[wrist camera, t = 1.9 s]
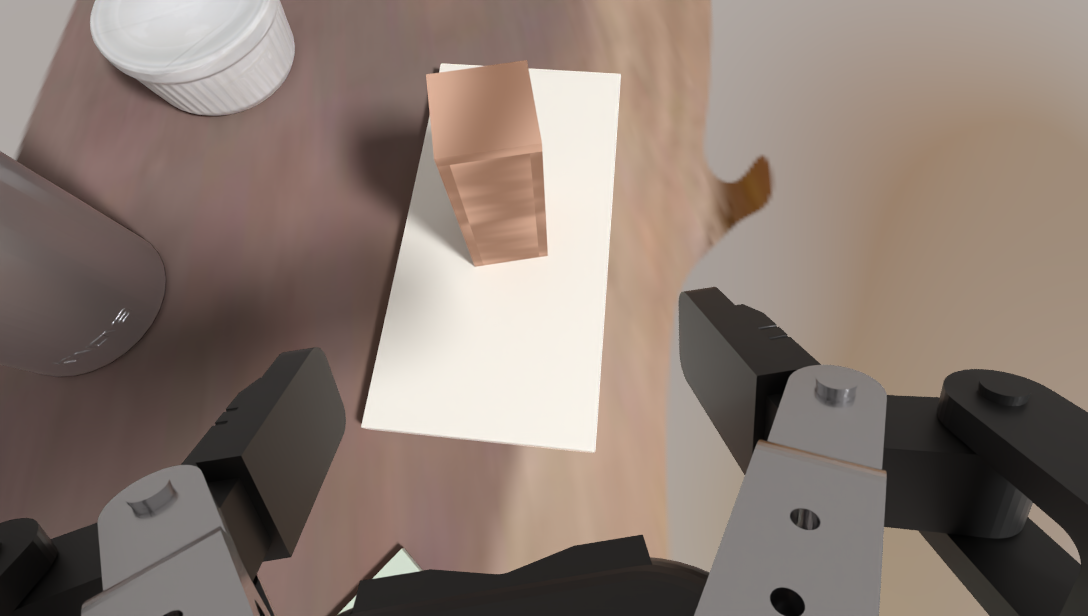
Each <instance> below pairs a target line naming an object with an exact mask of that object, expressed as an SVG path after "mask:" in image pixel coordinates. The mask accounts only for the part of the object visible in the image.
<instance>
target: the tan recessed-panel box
mask: <svg viewBox="0 0 1088 616" xmlns="http://www.w3.org/2000/svg"><path fill="white" fill-rule="evenodd" d="M426 78H427V89H428V100H429V111H430V122H431V132H432V143H433V154H434V160H435V163H436V166H437V168H438V171H439V174H440V176H441V179H442V181H443V184H444V187H445V189H446V192H447V195H448V197H449V200H450V203H451V205H452V208H453V210H454V213H455V216H456V218H457V221H458V224H459V226H460V229H461V231H462V234H463V237H464V239H465V242H466V245H467V247H468V250H469V253H470V255H471V258H472V260H473V263H474V266H475V267H477V266H484V265H491V264H497V263H504V262H510V261H517V260H524V259H530V258H537V257H544V256H548V248H547V229H546V210H545V191H544V172H543V152H542V140H541V135H540V129H539V124H538V118H537V113H536V107H535V102H534V96H533V91H532V85H531V80H530V74H529V69H528V63H527V60H525V61H518V62H511V63H504V64H497V65H490V66H483V67H476V68H468V69H461V70H454V71H447V72H440V73H433V74H426Z"/></svg>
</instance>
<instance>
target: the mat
mask: <svg viewBox="0 0 1088 616" xmlns="http://www.w3.org/2000/svg"><path fill="white" fill-rule="evenodd" d="M418 571H423V570H422V569H421V568H420V567H419V565H418V564H417V563H416V562H415V561H414V559H413V558H412V557H411V556H410V555H409V553H408V552H407V551H406V550H405V549H404V548H402V549H401V550H400V551H399V552H398V553H397V554H396V555H395V556H394V557H393V558H392V559H391V560H390V561H389V562H388V563H387V564H386V565H385V566H384V567H383V568H382V569H381V570H380V571H379V572H378V573H377V574H376V575H375V577H374V578H373V579H375V578H381V577H387V576H393V575H399V574H406V573H412V572H418ZM355 599H356V596H355V597H354V598H353V599H352V600H351V601H350V602H349V603H348V604H347V605H346V606H345V607H344V608H343V610H342V611H341V612H340V613H342V612H344V611H346V610H348V609H351V608H353V606H354V602H355ZM340 613H339V614H340Z"/></svg>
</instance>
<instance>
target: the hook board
mask: <svg viewBox="0 0 1088 616" xmlns="http://www.w3.org/2000/svg"><path fill="white" fill-rule="evenodd" d="M476 67H483V66H476V65H458V64H441V66H440V71H439V73H440V72H447V71H454V70H461V69H468V68H476ZM529 74H530V80H531V85H532V91H533V96H534V102H535V107H536V113H537V118H538V124H539V129H540V135H541V140H542V152H543V172H544V191H545V210H546V229H547V248H548V256H544V257H537V258H530V259H524V260H517V261H510V262H504V263H497V264H491V265H484V266H477V267H475V266H474V263H473V260H472V258H471V255H470V253H469V250H468V247H467V245H466V242H465V239H464V237H463V234H462V231H461V229H460V226H459V224H458V221H457V218H456V216H455V213H454V210H453V208H452V205H451V203H450V200H449V197H448V195H447V192H446V189H445V187H444V184H443V181H442V179H441V176H440V174H439V171H438V168H437V166H436V163H435V160H434V154H433V143H432V132H431V122H430V116H429V121H428V126H427V130H426V135H425V139H424V144H423V148H422V153H421V157H420V162H419V166H418V171H417V175H416V180H415V185H414V189H413V194H412V198H411V203H410V207H409V212H408V216H407V221H406V225H405V230H404V235H403V239H402V244H401V248H400V253H399V257H398V262H397V266H396V271H395V275H394V280H393V284H392V289H391V294H390V298H389V303H388V307H387V312H386V316H385V321H384V325H383V330H382V334H381V339H380V344H379V348H378V353H377V357H376V362H375V366H374V371H373V375H372V380H371V384H370V389H369V393H368V398H367V403H366V407H365V412H364V416H363V421H362V425H361V427H362V428H365V429H369V430H379V431H388V432H398V433H407V434H417V435H426V436H436V437H445V438H454V439H464V440H473V441H483V442H492V443H502V444H511V445H521V446H530V447H540V448H549V449H559V450H568V451H578V452H587V453H595V448H596V434H597V419H598V404H599V389H600V375H601V360H602V345H603V331H604V316H605V301H606V286H607V272H608V257H609V242H610V228H611V213H612V198H613V183H614V169H615V154H616V139H617V125H618V110H619V95H620V81H621V74H612V73H595V72H578V71H561V70H544V69H529Z"/></svg>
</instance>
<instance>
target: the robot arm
mask: <svg viewBox="0 0 1088 616" xmlns="http://www.w3.org/2000/svg"><path fill="white" fill-rule="evenodd" d="M165 283H166V276H165V270H164V265H163V262H162V260H161V258H160V256H159V254H158V252H157V251H156V250H155V249H154V247H153V246H152V245H151V244H150V243H149V242H147V241H146V240H144V239H143V238H141V237H140V236H138V235H137V234H135V233H133V232H132V231H130V230H128V229H127V228H125V227H123V226H122V225H120V224H119V223H117V222H115V221H114V220H112V219H110V218H109V217H107V216H105V215H104V214H102V213H101V212H99V211H97V210H96V209H94V208H92V207H91V206H89V205H88V204H86V203H85V202H83V201H81V200H80V199H78V198H76V197H75V196H73V195H71V194H70V193H68V192H66V191H65V190H63V189H61V188H60V187H58V186H56V185H55V184H53V183H52V182H50V181H48V180H47V179H45V178H43V177H42V176H40V175H38V174H37V173H35V172H33V171H32V170H30V169H28V168H27V167H25V166H24V165H22V164H20V163H19V162H17V161H15V160H14V159H12V158H10V157H9V156H7V155H5V154H4V153H2V152H0V365H3V366H8V367H12V368H16V369H21V370H25V371H30V372H34V373H39V374H44V375H50V376H56V377H62V376H76V375H79V374H83V373H87V372H91V371H94V370H96V369H98V368H100V367H103V366H105V365H107V364H109V363H111V362H112V361H114V360H115V359H117V358H118V357H120V356H121V355H123V354H124V353H126V352H127V351H128V350H129V349H130V348H131V347H132V346H133V345H134V344H136V343H137V342H138V341H139V340H140V339H141V338H142V336H143V335H144V334H145V332H146V331H147V330H148V328H149V327H150V326H151V325H152V323H153V321H154V319H155V317H156V315H157V313H158V311H159V310H160V307H161V304H162V300H163V297H164V294H165ZM679 345H680V346H679V348H680V360H681V367H682V370H683V373H684V376H685V379H686V381H687V382H688V384H689V386H690V387H691V388H692V390H693V392H694V394H695V395H696V397H697V398H698V400H699V402H700V403H701V405H702V407H703V408H704V410H705V411H706V413H707V415H708V416H709V418H710V419H711V421H712V422H713V424H714V426H715V428H716V429H717V431H718V432H719V434H720V435H721V437H722V439H723V440H724V442H725V444H726V445H727V447H728V448H729V450H730V452H731V453H732V455H733V457H734V458H735V460H736V462H737V463H738V465H739V466H740V468H741V470H742V471H743V473H744V475H745V477H744V480H743V483H742V486H741V488H740V491H739V494H738V497H737V499H736V502H735V505H734V507H733V510H732V513H731V516H730V519H729V521H728V524H727V527H726V529H725V532H724V535H723V538H722V541H721V543H720V546H719V549H718V552H717V554H716V557H715V560H714V562H713V565H712V568H711V571H710V573H709V572H707V571H704V570H702V569H700V568H697V567H694V566H691V565H688V564H684V563H681V562H677V561H672V560H667V559H661V558H650V556H649V553H648V550H647V547H646V544H645V541H644V537H643V535H638V536H632V537H625V538H619V539H613V540H607V541H601V542H595V543H589V544H583V545H577V546H573V547H570V548H568V549H565V550H563V551H560V552H558V553H555V554H553V555H550V556H548V557H545V558H543V559H541V560H538V561H536V562H533V563H531V564H528V565H526V566H523V567H521V568H518V569H516V570H514V571H511V572H508V573H505V574H483V573H470V572H457V571H444V570H431V569H430V570H424V571H418V572H412V573H406V574H399V575H393V576H387V577H381V578H375V579H369V580H363V581H360V584H359V587H358V591H357V595H356V599H355V602H354V606H353V608H351V609H348V610H346V611H344V612H342V613H340V614H338V615H336V616H879V605H880V588H881V569H882V552H883V533H884V527H891V528H900V529H909V530H918V531H919V532H920V533H921V535H922V536H923V537H924V538H925V539H926V541H927V542H928V543H929V544H930V545H931V546H932V547H933V549H934V550H935V551H936V552H937V554H938V555H939V556H940V557H941V558H942V559H943V561H944V562H945V563H946V564H947V566H948V567H949V568H950V569H951V570H952V571H953V573H954V574H955V575H956V576H957V577H958V579H959V580H960V581H961V582H962V583H963V585H964V586H965V587H966V588H967V589H968V591H969V592H970V593H971V594H972V595H973V597H974V598H975V599H976V600H977V601H978V602H979V604H980V605H981V606H982V607H983V608H984V610H985V611H986V612H987V613H988V614H989V616H1088V412H1086V411H1085V410H1083V409H1081V408H1080V407H1078V406H1076V405H1075V404H1073V403H1072V402H1070V401H1068V400H1067V399H1065V398H1064V397H1062V396H1060V395H1059V394H1057V393H1055V392H1054V391H1052V390H1050V389H1049V388H1047V387H1045V386H1043V385H1041V384H1039V383H1037V382H1035V381H1032V380H1030V379H1027V378H1024V377H1021V376H1017V375H1014V374H1010V373H1005V372H1000V371H994V370H983V369H971V370H963V371H958V372H954V373H952V374H950V375H949V376H947V377H946V379H945V380H944V383H943V387H942V391H941V395H940V398H938V397H915V396H894V395H886V392H885V389H884V388H883V387H882V386H881V384H880V383H878V382H877V381H876V380H875V379H873V378H871V377H870V376H868V375H866V374H864V373H862V372H859V371H856V370H853V369H850V368H845V367H841V366H834V365H821V364H820V363H819V362H818V361H816V360H815V359H814V358H813V357H812V356H811V355H810V354H809V353H807V352H806V351H805V350H804V349H803V348H802V347H801V346H800V345H799V344H797V343H796V342H795V341H794V340H793V339H792V338H791V337H788V336H787V334H786V333H785V332H784V331H783V330H782V329H781V328H779V327H777V326H776V324H775V323H774V322H773V321H772V320H771V319H770V318H768V317H767V316H766V315H765V314H764V313H762V312H760V311H758V310H755V309H753V308H750V307H748V306H746V305H743V304H741V305H734V304H733V303H732V302H731V301H730V300H729V299H728V298H727V297H726V296H725V295H724V294H723V293H722V292H721V291H720V290H719V289H718V288H716V287H711V288H705V289H698V290H691V291H685V292H681V294H680V296H679ZM215 424H216V425H215V426H212V427H211V428H210V430H209V431H208V432H207V433H206V435H205V436H204V437H203V438H202V439H201V441H200V442H199V443H198V444H197V446H196V447H195V448H194V449H193V451H192V452H191V453H190V454H189V456H188V457H187V458H186V459H185V460H184V462H183V463H182V464H181V465H178V466H173V467H169V468H165V469H162V470H159V471H157V472H154V473H152V474H150V475H147V476H145V477H143V478H141V479H139V480H138V481H136V482H134V483H133V484H131V485H129V486H128V487H127V488H125V489H124V490H122V491H121V492H120V493H119V494H117V495H116V496H115V497H114V498H113V499H112V500H111V501H110V502H109V503H108V504H107V505H106V506H105V507H104V509H103V510H102V512H101V513H100V515H99V518H98V523H95V524H92V525H90V526H87V527H84V528H81V529H78V530H76V531H73V532H70V533H67V534H64V535H61V536H59V537H56V538H53V539H50V538H49V537H48V535H47V534H46V533H45V532H44V530H43V529H42V528H41V526H40V525H39V524H38V522H37V521H35V520H34V519H30V518H20V519H14V520H9V521H5V522H2V523H0V616H277V615H276V613H275V611H274V608H273V606H272V604H271V601H270V599H269V597H268V595H267V592H266V590H265V588H264V585H263V583H262V582H261V580H260V578H259V576H258V574H257V572H258V570H259V568H260V566H261V564H262V562H264V561H270V560H276V559H282V558H288V557H291V556H292V554H293V551H294V549H295V547H296V544H297V542H298V540H299V537H300V535H301V533H302V530H303V528H304V526H305V523H306V521H307V519H308V516H309V514H310V512H311V509H312V507H313V505H314V502H315V500H316V498H317V495H318V493H319V491H320V488H321V486H322V483H323V481H324V479H325V476H326V474H327V472H328V469H329V467H330V465H331V462H332V460H333V458H334V455H335V453H336V451H337V448H338V446H339V444H340V441H341V439H342V437H343V434H344V431H345V424H346V417H345V410H344V406H343V403H342V400H341V397H340V394H339V391H338V389H337V386H336V383H335V380H334V378H333V375H332V372H331V369H330V367H329V364H328V361H327V358H326V356H325V354H324V352H323V351H322V350H321V349H320V348H318V347H315V348H309V349H302V350H295V351H289V352H283V353H281V354H280V355H279V356H278V357H277V358H276V360H275V361H274V362H273V364H272V365H271V366H270V367H269V369H268V370H267V371H266V373H265V374H264V375H263V376H262V378H259V379H258V380H256V381H255V382H254V383H252V384H251V385H249V386H248V387H247V388H245V389H244V390H243V391H241V392H240V393H239V394H238V395H237V396H236V397H235V399H234V400H233V401H232V402H231V404H230V405H229V406H228V407H227V409H226V412H223V414H222V415H221V416H220V417H219V418H218V420H217V421H216V422H215ZM1032 503H1035V504H1036V505H1037V506H1038V507H1039V508H1040V509H1041V510H1043V511H1044V512H1045V513H1046V514H1047V515H1048V516H1049V517H1051V518H1052V519H1053V520H1054V521H1055V522H1057V523H1058V524H1059V525H1060V526H1061V527H1062V528H1063V529H1064V530H1065V531H1066V532H1067V533H1068V535H1069V536H1070V537H1071V539H1072V540H1073V542H1074V544H1075V545H1076V547H1077V550H1078V552H1079V555H1080V559H1081V565H1080V564H1079V563H1078V562H1077V561H1076V560H1075V559H1074V558H1073V557H1071V556H1070V555H1069V554H1068V553H1067V552H1066V551H1065V550H1064V549H1063V548H1061V547H1060V546H1059V545H1058V544H1057V543H1056V542H1055V541H1054V540H1053V539H1052V538H1050V537H1049V536H1048V535H1047V534H1046V533H1045V532H1044V531H1043V530H1042V529H1040V528H1039V527H1038V526H1037V525H1036V524H1035V523H1034V522H1033V521H1032V520H1030V519H1029V518H1028V514H1029V512H1030V509H1031V506H1032Z"/></svg>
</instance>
